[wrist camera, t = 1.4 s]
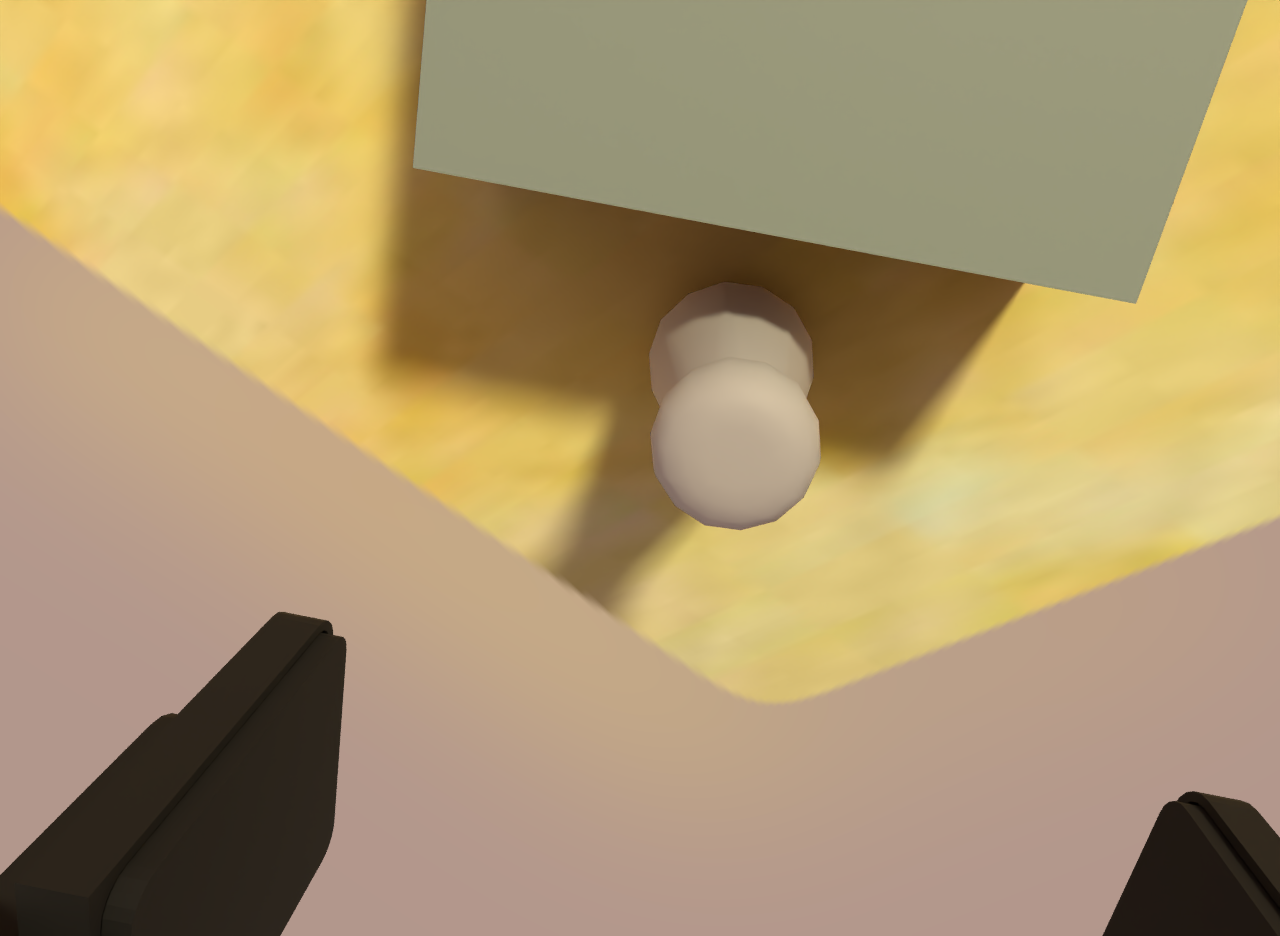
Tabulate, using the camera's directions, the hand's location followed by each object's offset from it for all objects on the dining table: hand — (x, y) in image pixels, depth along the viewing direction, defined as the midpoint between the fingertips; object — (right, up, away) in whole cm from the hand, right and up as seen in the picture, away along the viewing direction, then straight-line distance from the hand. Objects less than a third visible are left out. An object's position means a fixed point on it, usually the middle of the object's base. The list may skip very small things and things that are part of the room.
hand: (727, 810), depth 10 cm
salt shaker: (+2, +8, +24) cm, 25 cm away
